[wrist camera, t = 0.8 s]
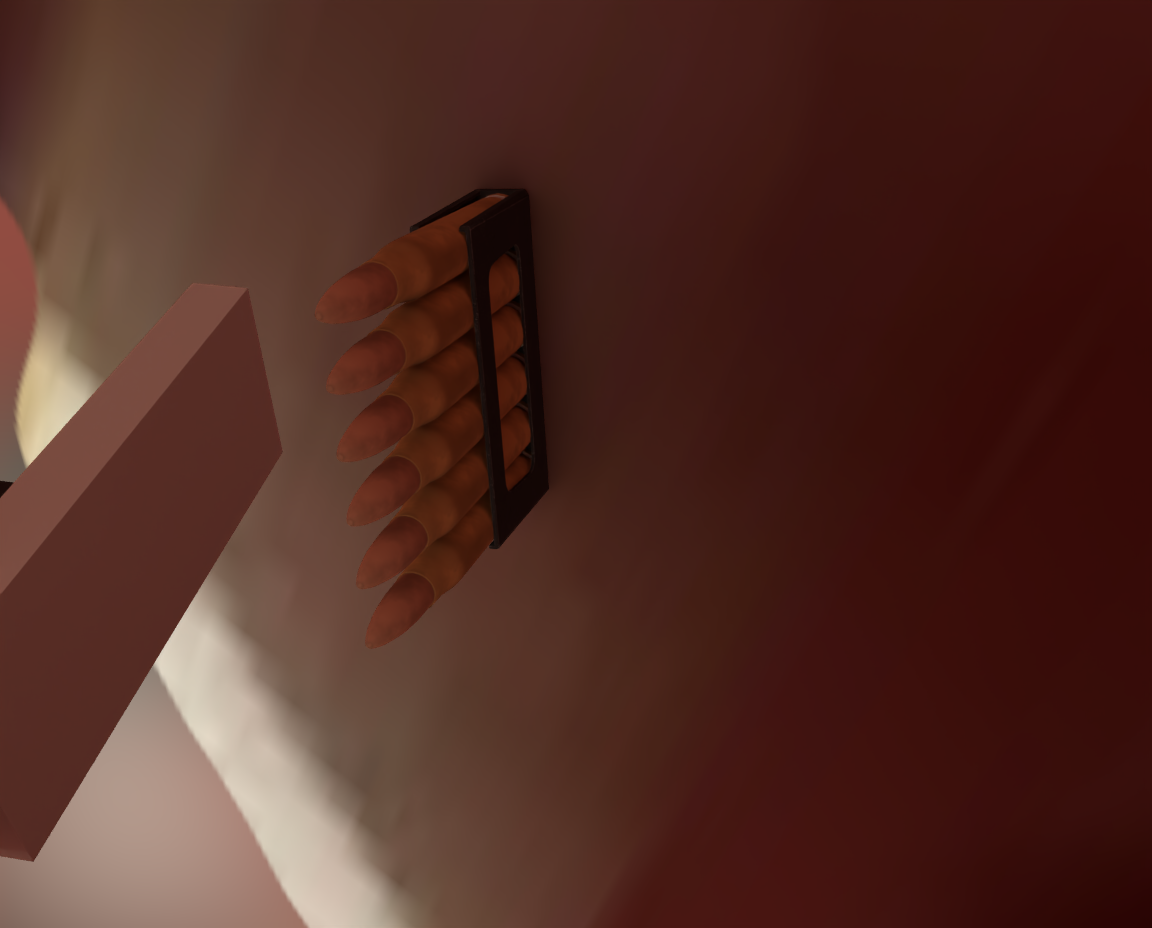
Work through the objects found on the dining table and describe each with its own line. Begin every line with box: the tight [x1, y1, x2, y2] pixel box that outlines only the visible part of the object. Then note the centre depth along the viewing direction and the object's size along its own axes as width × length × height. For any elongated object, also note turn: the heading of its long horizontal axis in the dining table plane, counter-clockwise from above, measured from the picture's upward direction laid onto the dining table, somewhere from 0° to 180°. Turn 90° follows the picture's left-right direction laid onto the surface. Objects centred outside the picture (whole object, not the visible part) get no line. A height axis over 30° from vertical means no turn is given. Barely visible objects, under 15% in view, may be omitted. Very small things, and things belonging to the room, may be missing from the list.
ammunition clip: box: [315, 189, 549, 649], centre depth 31 cm, size 11×2×12 cm, turn 3°
